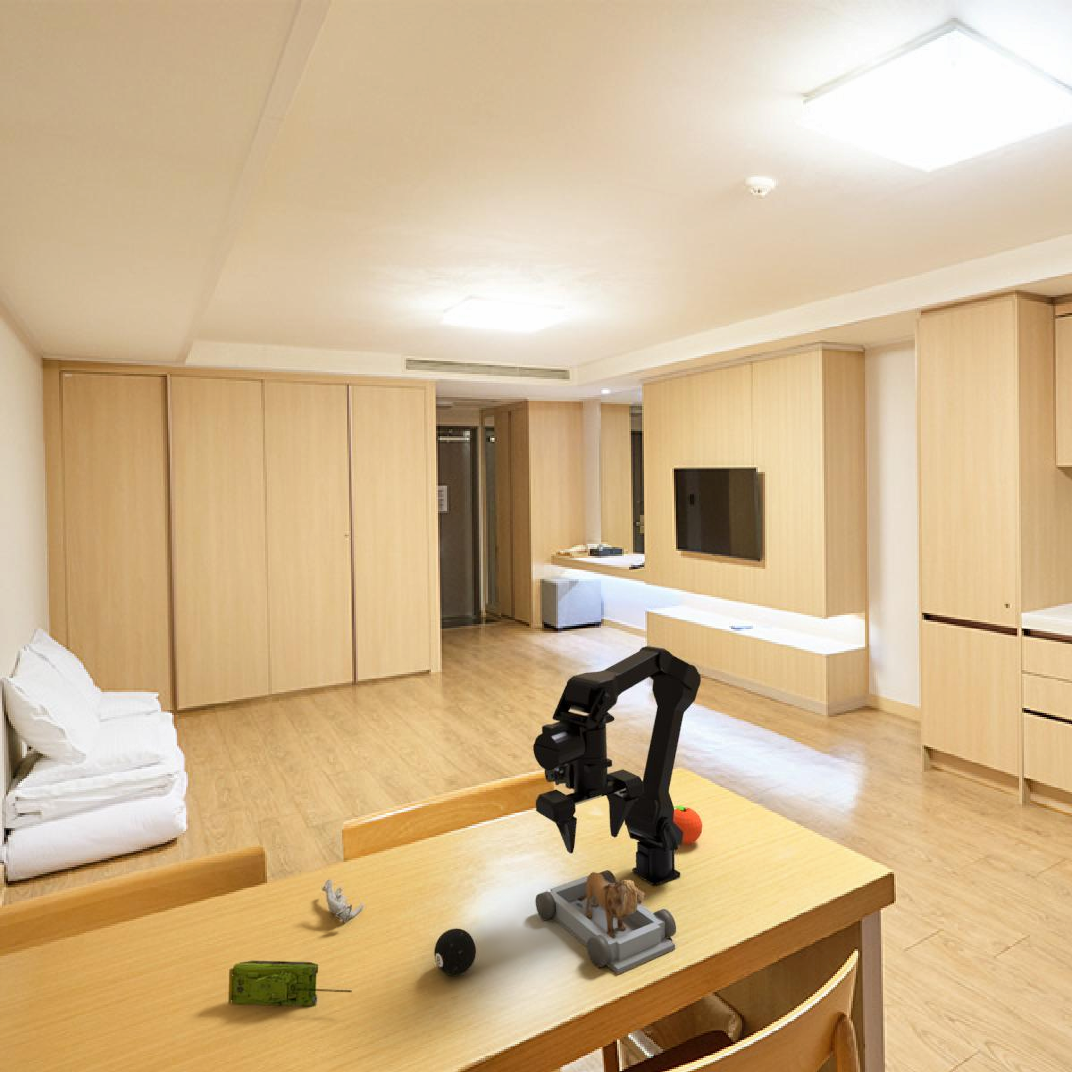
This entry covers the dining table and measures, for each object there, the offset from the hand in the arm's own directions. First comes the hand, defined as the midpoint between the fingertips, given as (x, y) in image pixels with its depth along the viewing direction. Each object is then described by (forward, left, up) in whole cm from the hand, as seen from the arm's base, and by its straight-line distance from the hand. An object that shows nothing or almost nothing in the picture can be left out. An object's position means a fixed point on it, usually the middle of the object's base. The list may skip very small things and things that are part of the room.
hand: (592, 844), depth 125 cm
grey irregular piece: (+36, -25, -12) cm, 45 cm away
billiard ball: (+26, +1, -12) cm, 29 cm away
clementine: (-30, -11, -12) cm, 34 cm away
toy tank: (+49, -4, -12) cm, 50 cm away
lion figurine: (0, +5, -11) cm, 12 cm away
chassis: (+1, +4, -12) cm, 13 cm away
